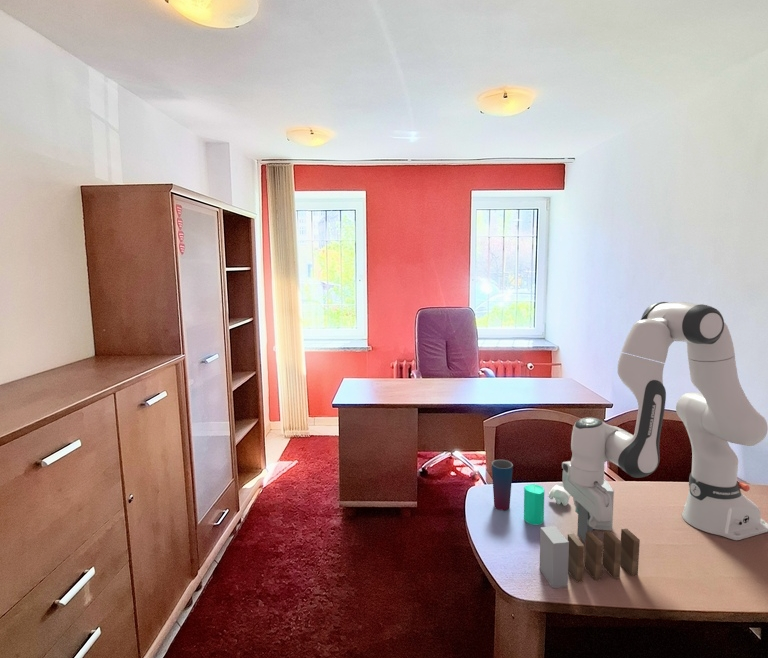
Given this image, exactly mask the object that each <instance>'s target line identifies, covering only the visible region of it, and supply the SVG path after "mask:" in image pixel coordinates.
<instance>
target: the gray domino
mask: <svg viewBox="0 0 768 658" xmlns="http://www.w3.org/2000/svg"><path fill="white" fill-rule="evenodd" d="M590 517H591V516H590V513H589V512H588V511H587V510H586V509H585V508H584V507H583V506H582V505H581V504H580V503H578V514H577V533H576V534H577V536H578V537H579V538H580V539H581V540H582V541H583V543H585V541H586V532H592V533H593V530H594V529H593V527H590V526H589V525H588V523H587V522H588V521H587V520H588V519H590ZM593 534H594V533H593Z"/></svg>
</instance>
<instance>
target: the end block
mask: <svg viewBox="0 0 768 658" xmlns="http://www.w3.org/2000/svg"><path fill="white" fill-rule="evenodd" d="M539 537H540V538H539V571H540V572H541V574H542V575H543V577H544V578H545V580H546V581H547V582H548V584H549V585H550V587H551V588H552V589H555V588H565V587H569V586H568V585H569V583H568V582H569V572H568V558H569V541H568V538H566V537H565V535H563V533H562V532H561V531H560V530H559V528H558V527H557V526H556V525H550V526H541V527H540V535H539Z"/></svg>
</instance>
